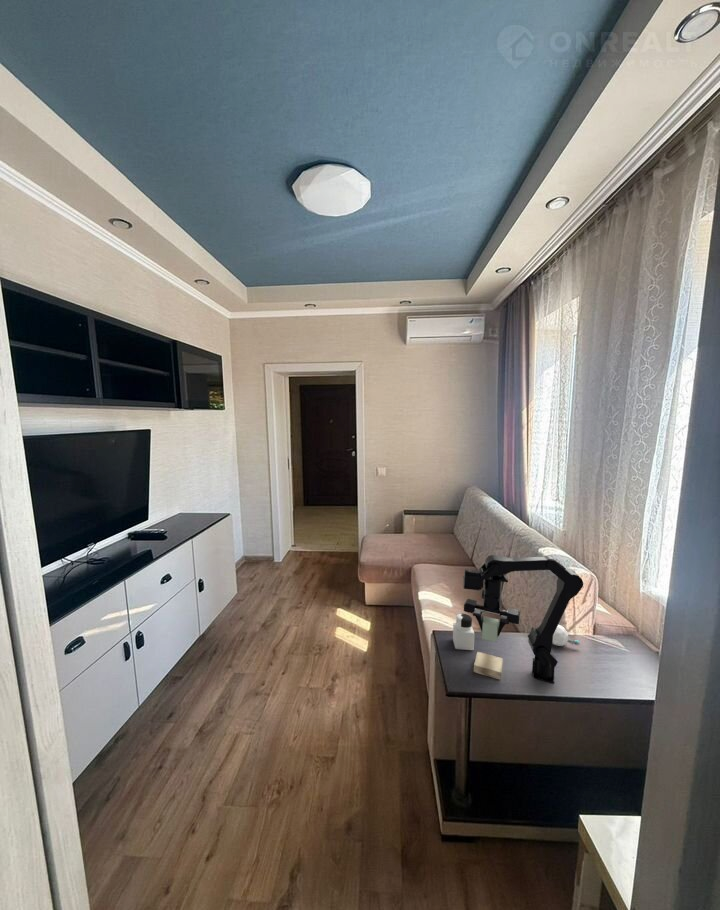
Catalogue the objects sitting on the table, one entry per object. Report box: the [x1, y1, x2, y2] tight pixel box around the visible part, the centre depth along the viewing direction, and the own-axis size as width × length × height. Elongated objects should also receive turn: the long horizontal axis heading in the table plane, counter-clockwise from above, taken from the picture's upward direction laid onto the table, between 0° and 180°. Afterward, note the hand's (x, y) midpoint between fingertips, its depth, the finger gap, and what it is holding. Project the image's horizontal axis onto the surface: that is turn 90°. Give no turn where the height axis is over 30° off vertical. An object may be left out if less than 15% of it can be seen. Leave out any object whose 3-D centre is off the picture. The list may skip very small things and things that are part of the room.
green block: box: [481, 615, 500, 643], centre depth 133 cm, size 5×5×6 cm
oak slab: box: [473, 651, 504, 680], centre depth 133 cm, size 9×9×3 cm
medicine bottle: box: [452, 613, 475, 651], centre depth 147 cm, size 7×7×12 cm
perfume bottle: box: [553, 624, 580, 647], centre depth 149 cm, size 8×8×12 cm
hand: (490, 633), depth 133 cm, fingers closed on green block, 5 cm apart
